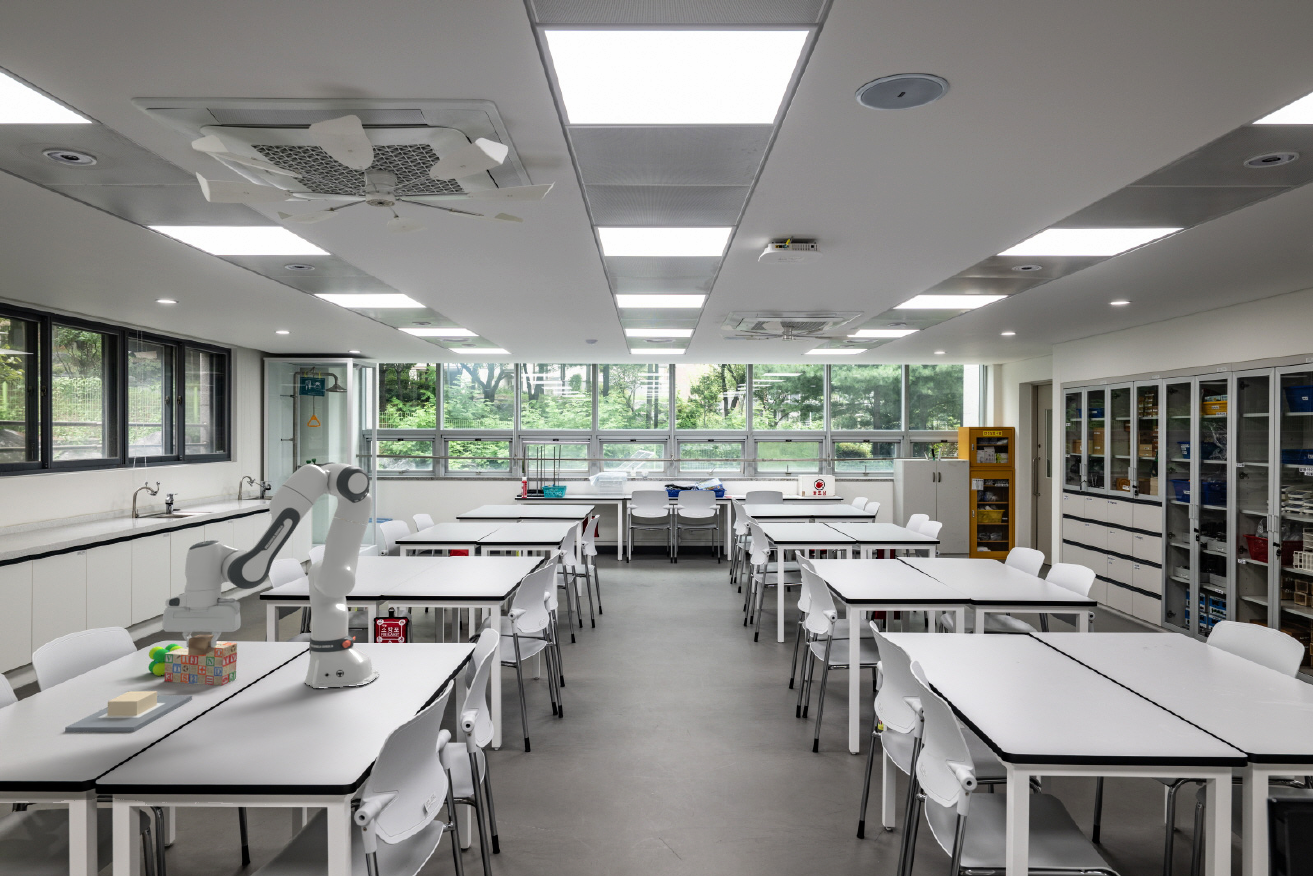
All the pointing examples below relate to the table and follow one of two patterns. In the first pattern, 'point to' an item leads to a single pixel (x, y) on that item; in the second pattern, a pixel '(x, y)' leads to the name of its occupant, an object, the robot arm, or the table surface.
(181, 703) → the board
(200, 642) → the walnut cube
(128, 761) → the table surface
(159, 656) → the molecule model
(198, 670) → the stack of blocks
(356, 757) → the table surface
